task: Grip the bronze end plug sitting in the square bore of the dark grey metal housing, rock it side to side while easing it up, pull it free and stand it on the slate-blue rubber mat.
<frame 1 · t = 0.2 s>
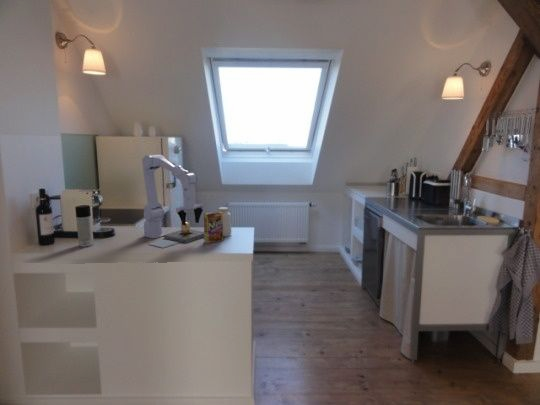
hand: (190, 223, 191), 10 cm above the counter, tool pointing down, fingers open, 7 cm apart
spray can: (86, 245, 190), on the counter
mat: (164, 244, 191), on the counter
candy box: (213, 241, 195), on the counter
end plug: (185, 230, 203), in the housing
pill bottle: (224, 235, 208), on the counter
housing: (185, 237, 203), on the counter
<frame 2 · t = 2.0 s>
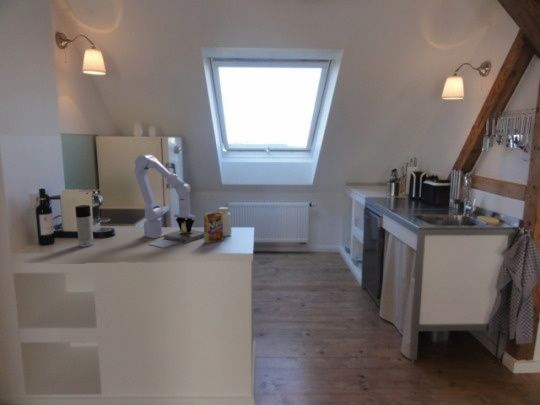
hand: (185, 231, 203), 3 cm above the counter, tool pointing down, fingers closed on end plug, 4 cm apart
end plug: (185, 230, 202), in the housing, touching gripper
everything else where it was.
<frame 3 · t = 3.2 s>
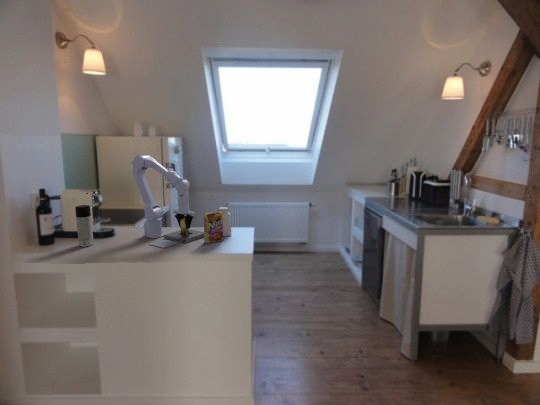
hand: (184, 227, 202), 5 cm above the counter, tool pointing down, fingers closed on end plug, 4 cm apart
end plug: (184, 226, 202), point 6 cm above the counter, touching gripper
everything else where it was.
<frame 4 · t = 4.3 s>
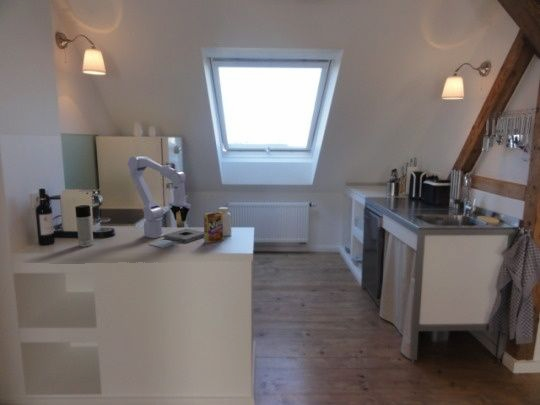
hand: (180, 220, 199), 10 cm above the counter, tool pointing down, fingers closed on end plug, 4 cm apart
end plug: (180, 219, 199), point 11 cm above the counter, touching gripper
everything else where it was.
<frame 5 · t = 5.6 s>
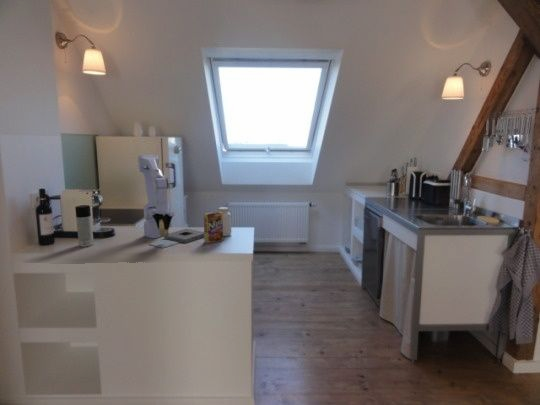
hand: (163, 228, 189), 8 cm above the counter, tool pointing down, fingers closed on end plug, 4 cm apart
end plug: (163, 227, 190), point 9 cm above the counter, touching gripper
everything else where it was.
when the fingers open (5 cm above the counter, at t = 6.6 s): end plug stays where it is, resting on mat.
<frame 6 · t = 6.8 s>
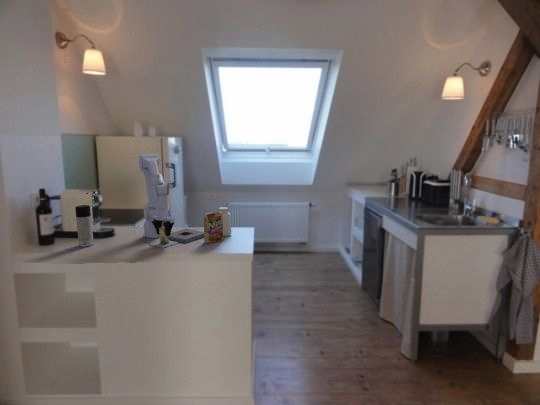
hand: (163, 235, 190), 5 cm above the counter, tool pointing down, fingers open, 6 cm apart
end plug: (164, 235, 190), on the mat
everything else where it was.
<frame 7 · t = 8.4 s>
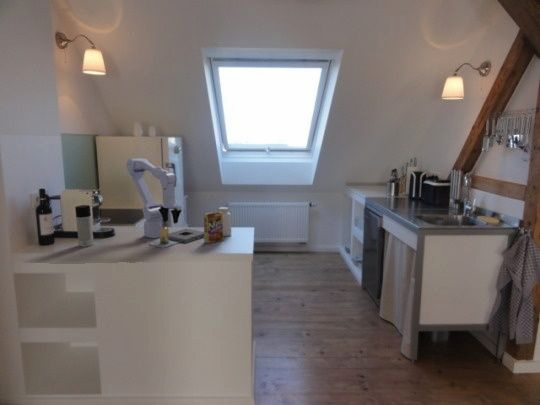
hand: (170, 222, 197), 9 cm above the counter, tool pointing down, fingers open, 7 cm apart
nothing on the counter moved.
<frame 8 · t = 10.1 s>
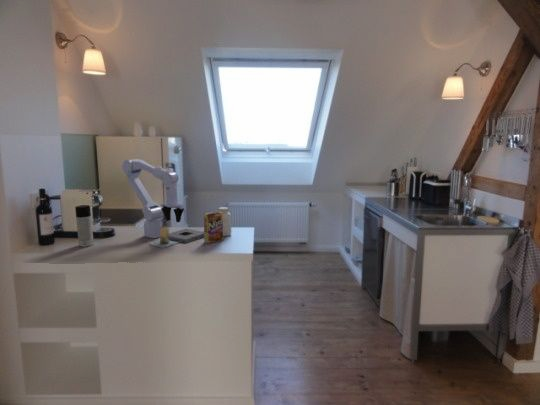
hand: (173, 221, 199), 9 cm above the counter, tool pointing down, fingers open, 7 cm apart
nothing on the counter moved.
at the end: end plug 0.3 cm off-centre on the mat, point 4.4 cm above the mat's base; end plug tilted 1°; the gripper is holding nothing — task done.
